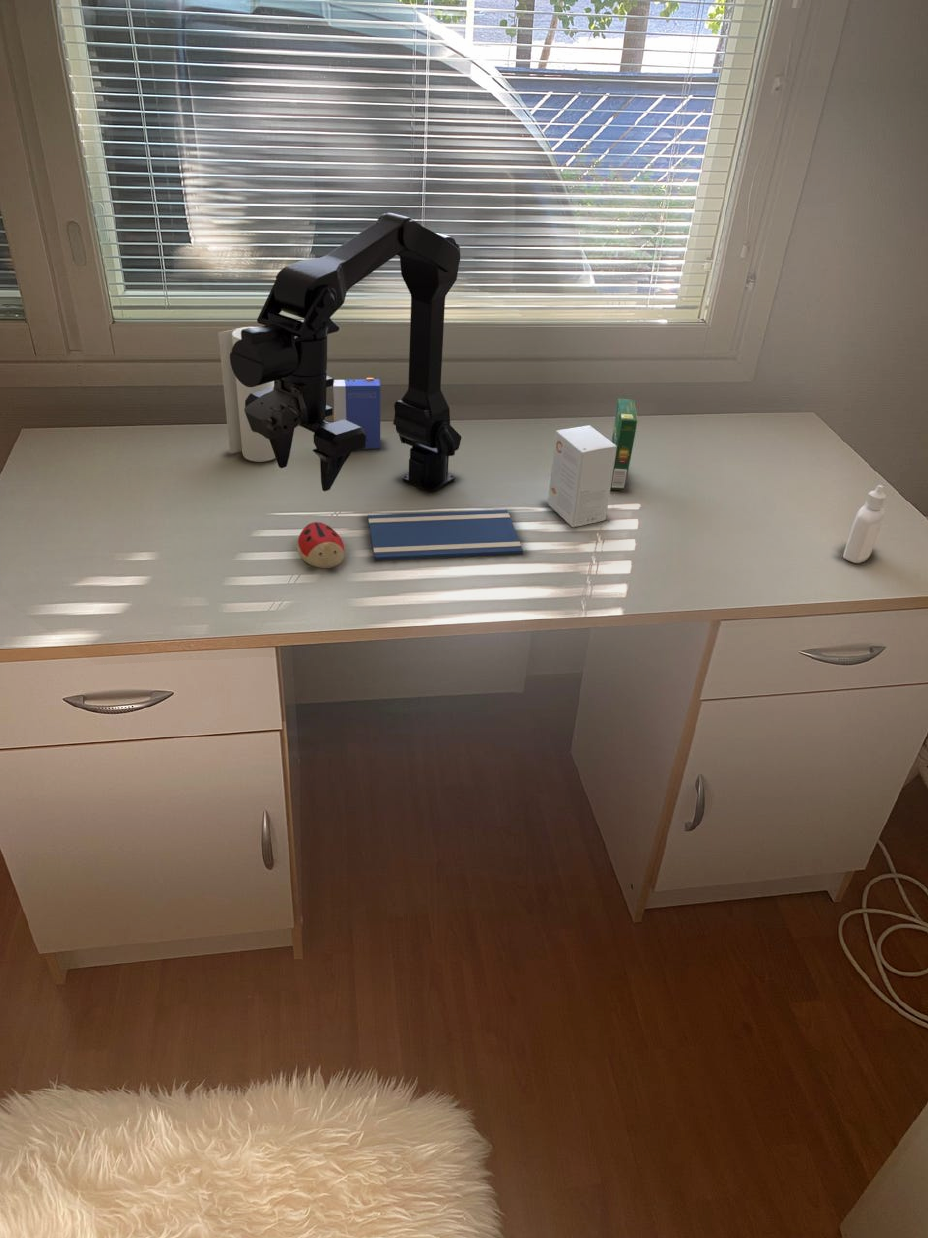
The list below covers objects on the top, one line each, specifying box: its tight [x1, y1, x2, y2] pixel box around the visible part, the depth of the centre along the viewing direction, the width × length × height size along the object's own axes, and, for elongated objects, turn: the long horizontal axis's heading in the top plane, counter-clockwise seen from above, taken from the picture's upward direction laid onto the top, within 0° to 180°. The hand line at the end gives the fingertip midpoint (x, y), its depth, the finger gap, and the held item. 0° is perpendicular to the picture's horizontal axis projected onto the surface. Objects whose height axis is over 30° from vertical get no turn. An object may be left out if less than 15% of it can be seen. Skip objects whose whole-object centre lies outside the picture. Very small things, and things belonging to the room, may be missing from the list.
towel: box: [367, 509, 524, 562], centre depth 147 cm, size 22×12×1 cm, turn 100°
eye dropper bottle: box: [842, 484, 887, 564], centre depth 145 cm, size 4×6×12 cm
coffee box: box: [610, 398, 639, 492], centre depth 161 cm, size 8×3×13 cm, turn 176°
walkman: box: [332, 377, 381, 450], centre depth 166 cm, size 8×3×12 cm, turn 99°
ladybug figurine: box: [296, 521, 346, 569], centre depth 140 cm, size 7×10×4 cm
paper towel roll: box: [217, 326, 276, 463], centre depth 159 cm, size 7×6×21 cm
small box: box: [547, 425, 617, 528], centre depth 151 cm, size 8×6×13 cm
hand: (304, 478), depth 135 cm, fingers open, 9 cm apart
